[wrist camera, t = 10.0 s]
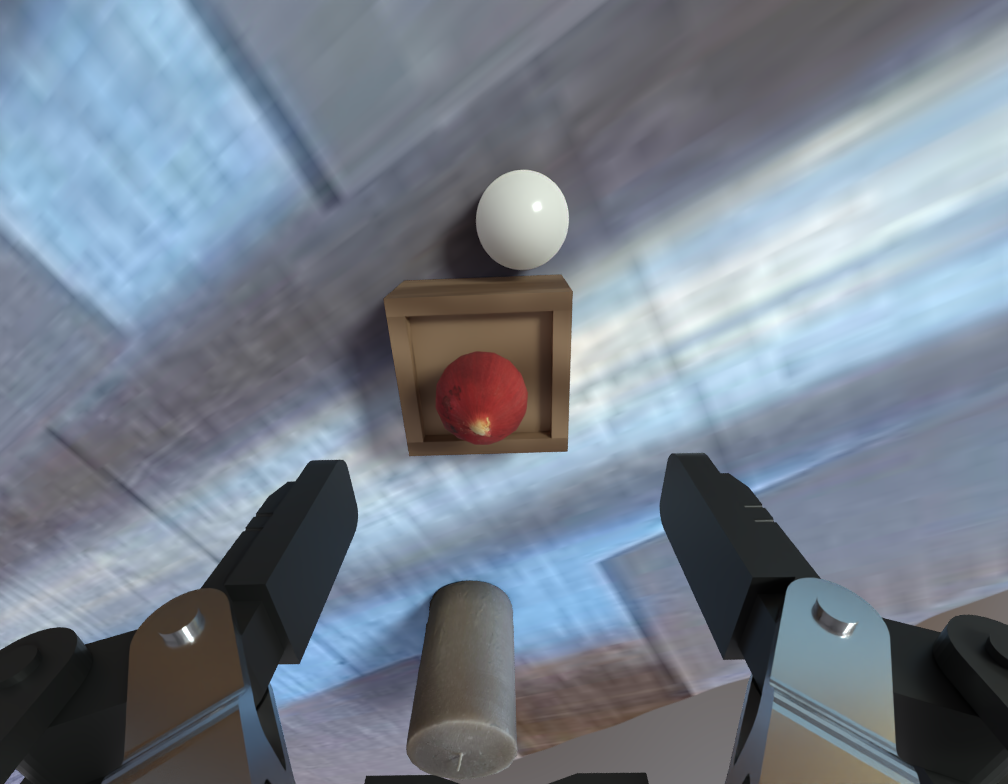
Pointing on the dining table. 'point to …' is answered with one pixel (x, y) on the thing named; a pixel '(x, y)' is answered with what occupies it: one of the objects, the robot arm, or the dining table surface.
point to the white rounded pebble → (522, 219)
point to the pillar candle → (465, 685)
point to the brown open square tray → (486, 328)
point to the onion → (481, 398)
